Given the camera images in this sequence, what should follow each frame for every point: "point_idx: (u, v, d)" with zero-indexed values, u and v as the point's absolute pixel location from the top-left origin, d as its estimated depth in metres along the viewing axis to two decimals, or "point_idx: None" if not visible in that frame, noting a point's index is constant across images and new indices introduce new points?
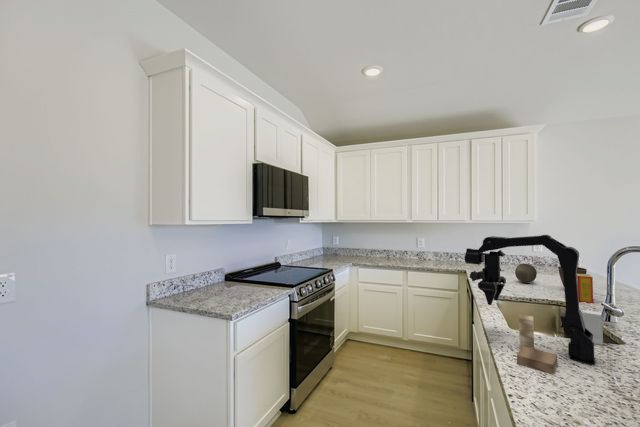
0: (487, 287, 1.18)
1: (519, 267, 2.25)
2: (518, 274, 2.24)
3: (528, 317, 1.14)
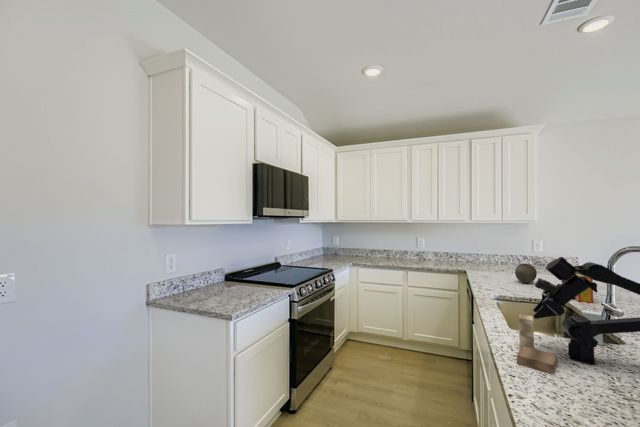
0: (555, 309, 1.02)
1: (519, 267, 2.25)
2: (518, 274, 2.24)
3: (528, 317, 1.14)
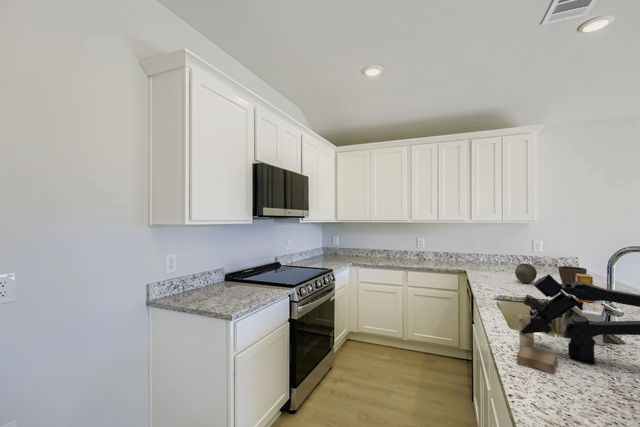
0: (542, 327, 1.04)
1: (519, 267, 2.25)
2: (518, 274, 2.24)
3: (528, 317, 1.14)
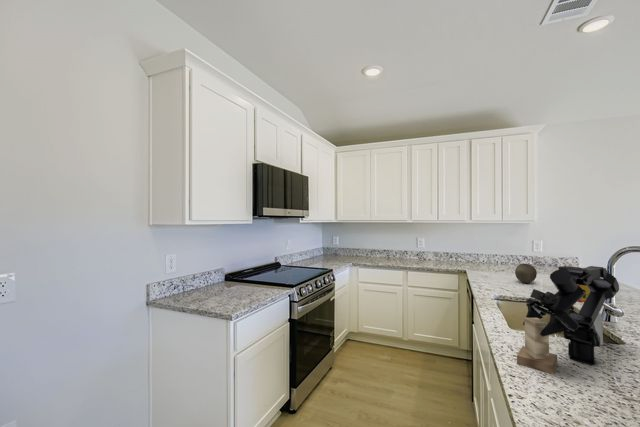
0: (571, 324, 0.92)
1: (519, 267, 2.25)
2: (518, 274, 2.24)
3: (537, 319, 1.02)
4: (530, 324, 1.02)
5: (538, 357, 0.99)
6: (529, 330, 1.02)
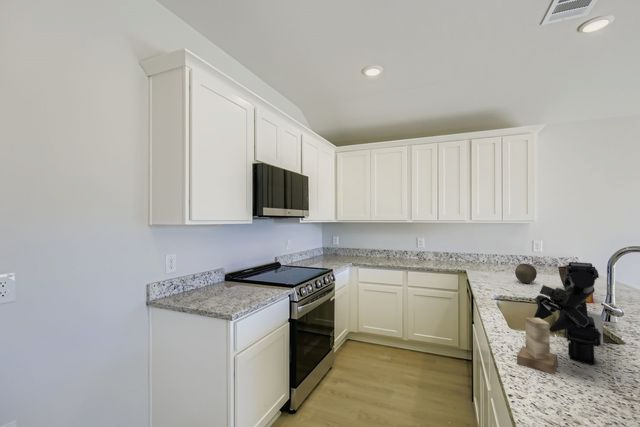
0: (580, 320, 0.92)
1: (519, 267, 2.25)
2: (518, 274, 2.24)
3: (538, 320, 1.02)
4: (531, 324, 1.01)
5: (538, 357, 0.99)
6: (530, 330, 1.02)
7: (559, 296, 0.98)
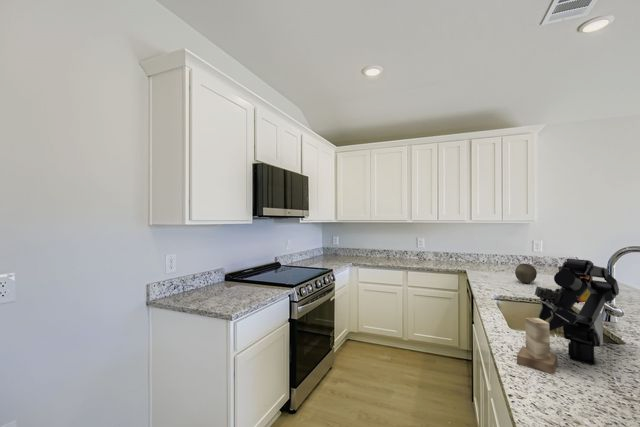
0: (568, 318, 0.97)
1: (519, 267, 2.25)
2: (518, 274, 2.24)
3: (538, 320, 1.02)
4: (530, 325, 1.02)
5: (539, 357, 0.99)
6: (530, 330, 1.02)
7: (548, 296, 1.03)
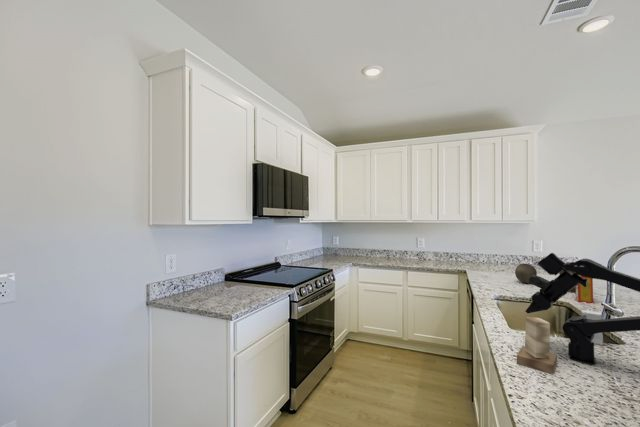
0: (541, 303, 1.06)
1: (519, 267, 2.25)
2: (518, 274, 2.24)
3: (539, 319, 1.02)
4: (531, 324, 1.02)
5: (538, 356, 0.99)
6: (530, 329, 1.02)
7: (534, 283, 1.12)
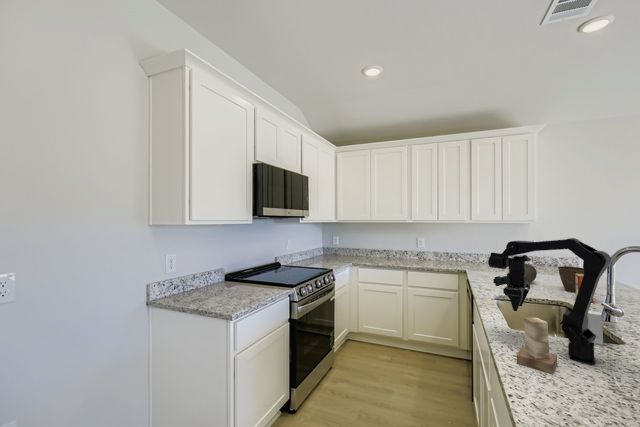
0: (513, 293, 1.15)
1: None
2: None
3: (536, 319, 1.02)
4: (529, 324, 1.02)
5: (538, 357, 0.99)
6: (528, 330, 1.02)
7: (498, 282, 1.23)
